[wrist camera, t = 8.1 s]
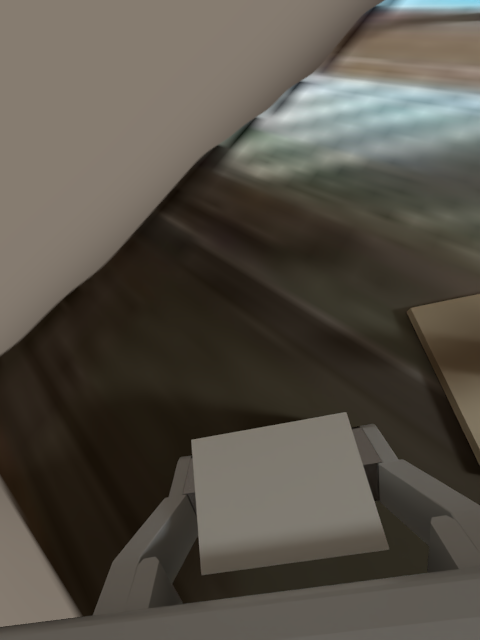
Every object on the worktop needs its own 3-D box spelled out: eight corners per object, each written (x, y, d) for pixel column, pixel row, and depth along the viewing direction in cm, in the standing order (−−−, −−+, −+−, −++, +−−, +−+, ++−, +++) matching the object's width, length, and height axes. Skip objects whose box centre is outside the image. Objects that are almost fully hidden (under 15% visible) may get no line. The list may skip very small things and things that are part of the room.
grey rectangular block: (331, 484, 13) (389, 549, 6) (245, 497, 14) (201, 575, 6) (315, 420, 15) (346, 411, 7) (236, 434, 15) (191, 439, 8)
